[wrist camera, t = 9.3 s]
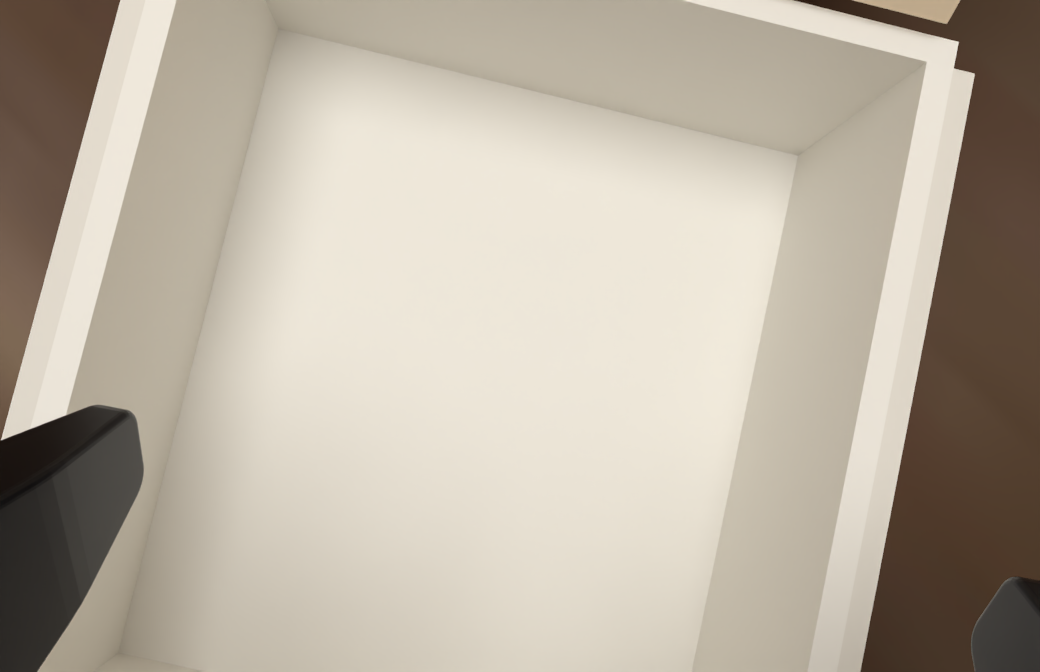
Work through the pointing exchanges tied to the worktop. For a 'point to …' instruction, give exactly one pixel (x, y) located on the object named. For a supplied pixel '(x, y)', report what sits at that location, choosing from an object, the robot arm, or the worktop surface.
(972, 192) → the worktop surface
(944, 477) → the worktop surface
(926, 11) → the flap
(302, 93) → the carton
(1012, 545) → the worktop surface
